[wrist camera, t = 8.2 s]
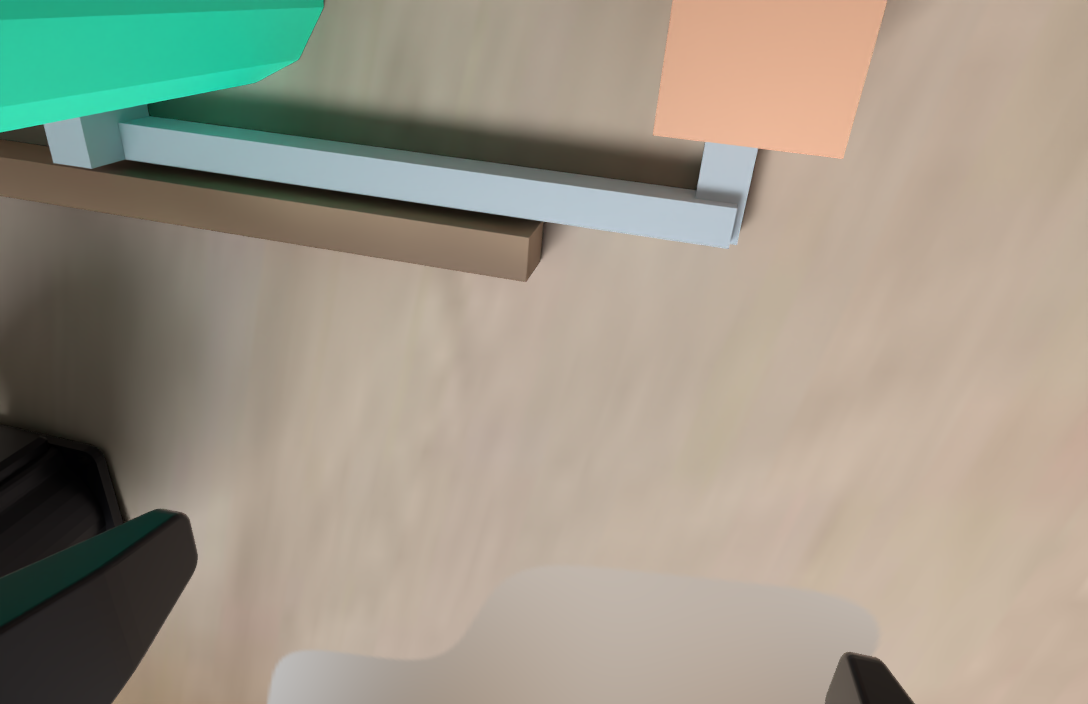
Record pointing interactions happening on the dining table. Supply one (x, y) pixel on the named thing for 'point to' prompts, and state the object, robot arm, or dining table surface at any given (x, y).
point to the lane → (280, 212)
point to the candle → (138, 52)
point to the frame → (565, 198)
